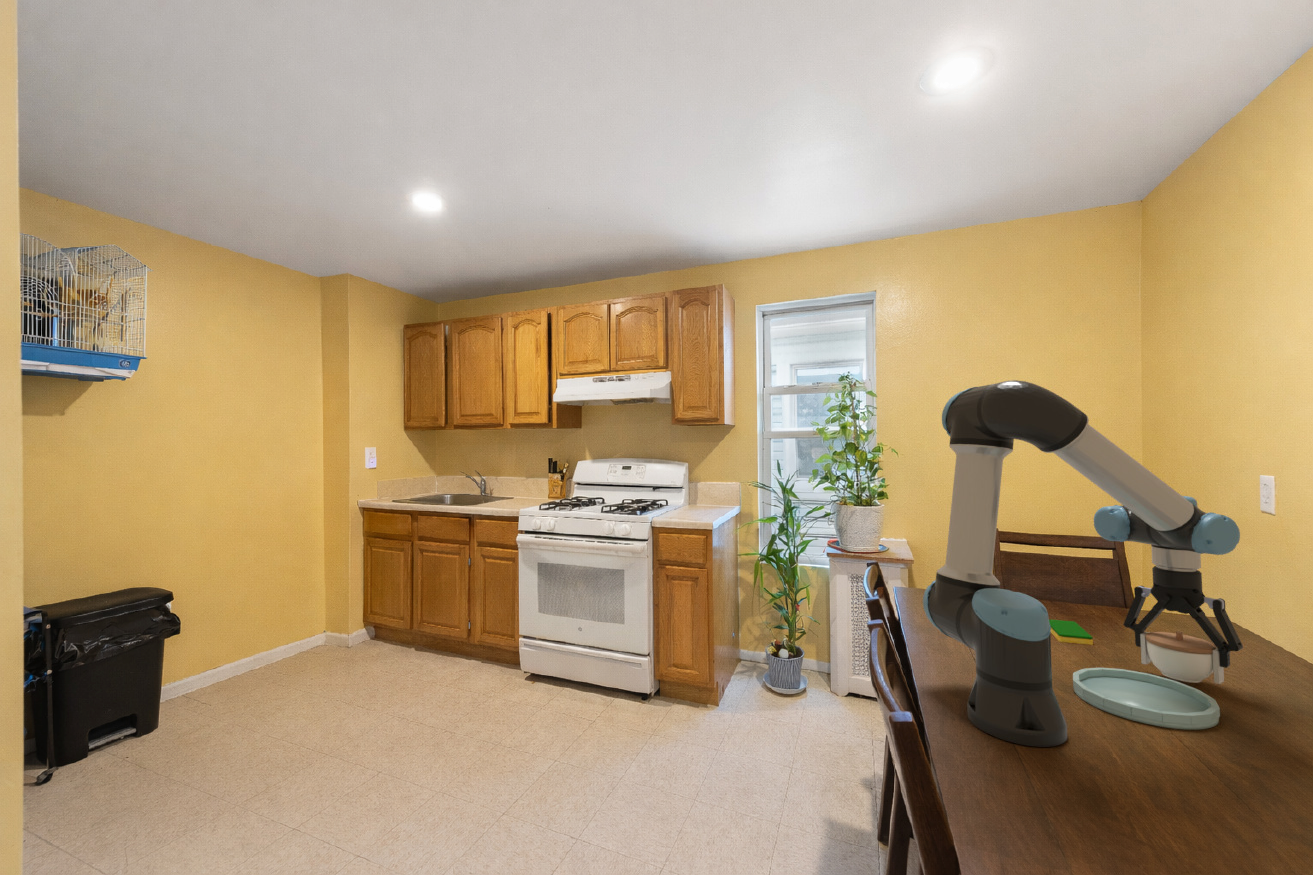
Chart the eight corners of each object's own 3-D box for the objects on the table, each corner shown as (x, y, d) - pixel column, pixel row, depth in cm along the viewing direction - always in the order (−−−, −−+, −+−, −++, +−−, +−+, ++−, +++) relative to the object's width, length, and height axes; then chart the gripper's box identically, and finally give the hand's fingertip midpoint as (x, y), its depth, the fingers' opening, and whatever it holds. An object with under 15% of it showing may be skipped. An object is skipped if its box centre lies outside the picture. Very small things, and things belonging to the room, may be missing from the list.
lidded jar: (1186, 667, 116) (1184, 624, 117) (1234, 688, 106) (1231, 641, 106) (1133, 665, 118) (1131, 623, 118) (1176, 686, 107) (1174, 640, 107)
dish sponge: (1075, 629, 147) (1074, 621, 147) (1093, 646, 134) (1093, 637, 134) (1044, 627, 150) (1044, 618, 150) (1059, 643, 137) (1059, 633, 137)
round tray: (1194, 741, 90) (1193, 726, 90) (1053, 694, 108) (1053, 681, 108) (1236, 710, 100) (1235, 696, 100) (1100, 671, 118) (1100, 660, 118)
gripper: (1262, 576, 104) (1268, 688, 103) (1116, 557, 124) (1120, 651, 124) (1250, 580, 101) (1256, 697, 100) (1101, 560, 121) (1105, 657, 120)
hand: (1181, 671), depth 112 cm, fingers closed on lidded jar, 11 cm apart
